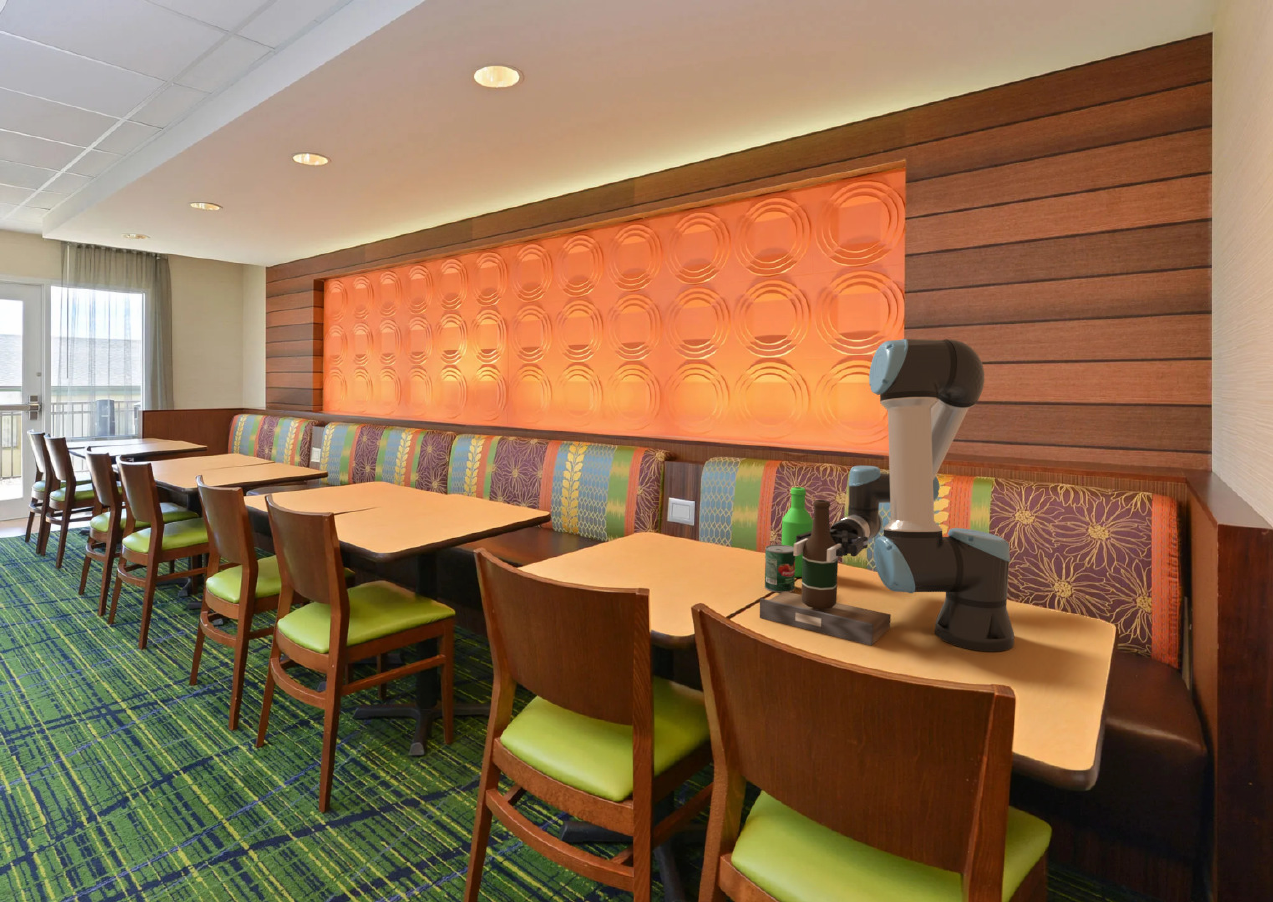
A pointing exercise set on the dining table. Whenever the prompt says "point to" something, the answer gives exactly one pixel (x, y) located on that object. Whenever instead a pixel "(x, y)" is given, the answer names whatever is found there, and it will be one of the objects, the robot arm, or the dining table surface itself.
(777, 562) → the canned tomato
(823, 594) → the beer bottle
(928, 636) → the dining table surface
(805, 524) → the bottle
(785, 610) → the shelf
